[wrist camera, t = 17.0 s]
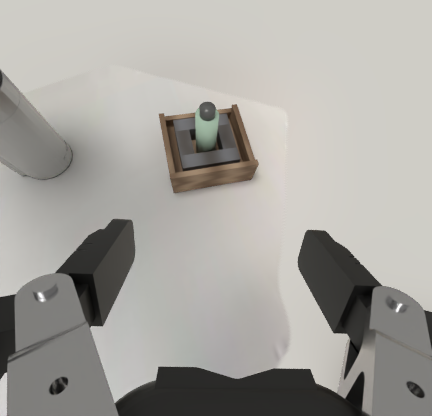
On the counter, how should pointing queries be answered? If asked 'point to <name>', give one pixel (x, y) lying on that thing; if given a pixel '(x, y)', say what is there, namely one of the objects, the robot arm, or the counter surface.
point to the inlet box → (207, 161)
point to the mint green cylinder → (206, 127)
